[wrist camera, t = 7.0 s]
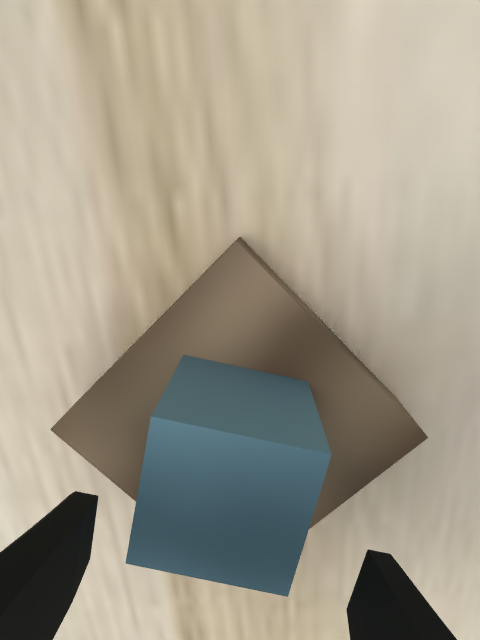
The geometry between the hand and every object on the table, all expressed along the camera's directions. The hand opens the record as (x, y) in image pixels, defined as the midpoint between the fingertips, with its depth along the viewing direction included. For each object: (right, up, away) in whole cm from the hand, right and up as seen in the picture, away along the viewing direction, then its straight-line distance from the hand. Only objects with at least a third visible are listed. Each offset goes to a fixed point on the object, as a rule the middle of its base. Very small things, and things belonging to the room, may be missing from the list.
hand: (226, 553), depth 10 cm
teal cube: (0, +2, +6) cm, 6 cm away
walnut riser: (0, +2, +10) cm, 10 cm away
